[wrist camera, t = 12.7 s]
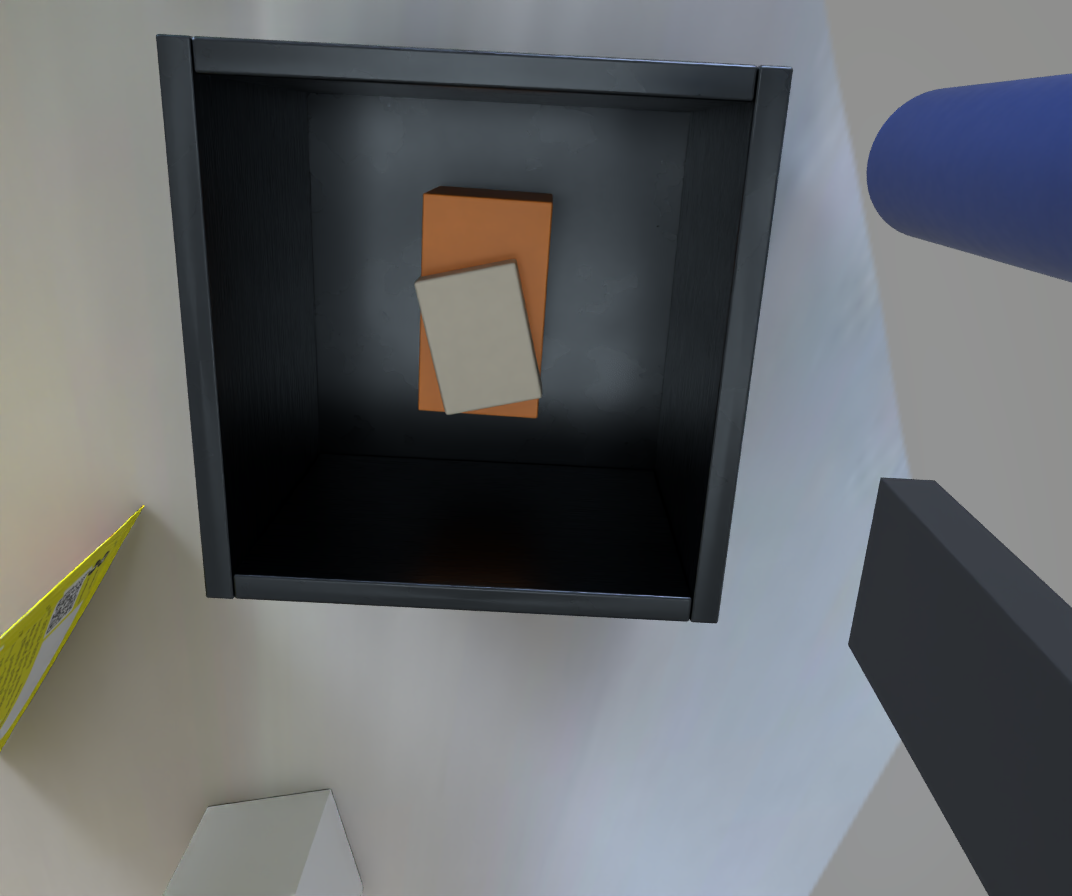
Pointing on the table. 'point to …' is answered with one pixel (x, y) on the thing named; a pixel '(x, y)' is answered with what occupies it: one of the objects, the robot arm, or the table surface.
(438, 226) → the orange and grey block
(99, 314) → the table surface
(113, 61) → the table surface
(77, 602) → the food package
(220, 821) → the white cube
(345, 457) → the black open storage box
